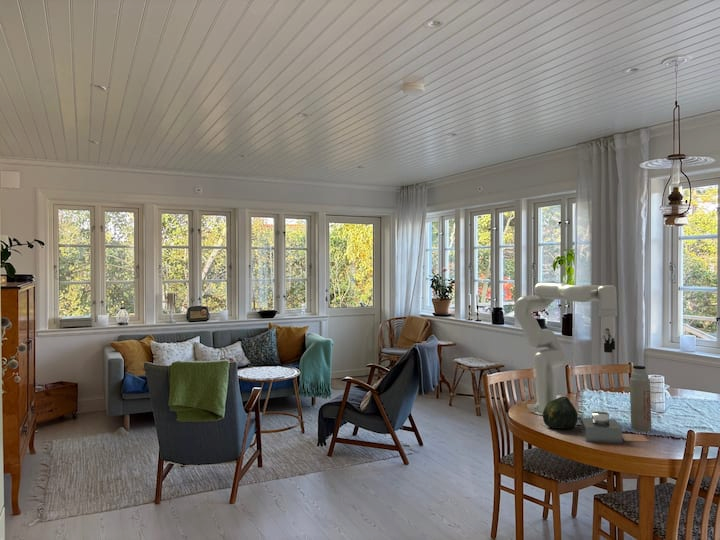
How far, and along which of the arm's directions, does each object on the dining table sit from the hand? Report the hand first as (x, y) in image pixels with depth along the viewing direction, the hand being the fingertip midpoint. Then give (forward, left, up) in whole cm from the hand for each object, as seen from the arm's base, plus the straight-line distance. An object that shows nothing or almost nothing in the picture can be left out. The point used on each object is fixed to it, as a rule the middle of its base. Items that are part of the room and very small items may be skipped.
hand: (609, 350), depth 239 cm
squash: (-22, -2, -35) cm, 41 cm away
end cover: (-7, -14, -35) cm, 38 cm away
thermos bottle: (+12, +1, -35) cm, 37 cm away
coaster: (+6, -13, -35) cm, 38 cm away
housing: (-7, -14, -35) cm, 38 cm away
